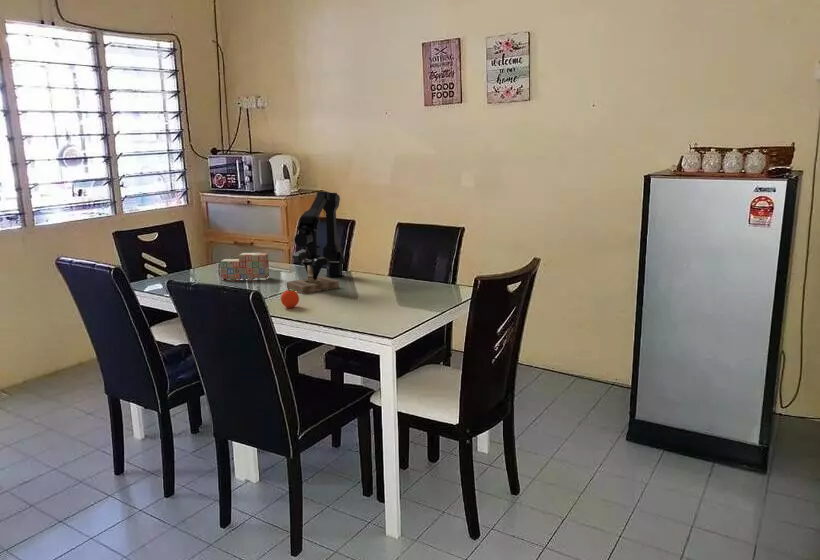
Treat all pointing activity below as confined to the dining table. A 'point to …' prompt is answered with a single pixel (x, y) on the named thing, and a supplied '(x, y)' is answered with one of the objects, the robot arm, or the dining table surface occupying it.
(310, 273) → the peg
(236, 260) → the stack of blocks
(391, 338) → the dining table surface
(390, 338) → the dining table surface
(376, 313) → the dining table surface
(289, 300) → the clementine
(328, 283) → the board
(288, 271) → the dining table surface
